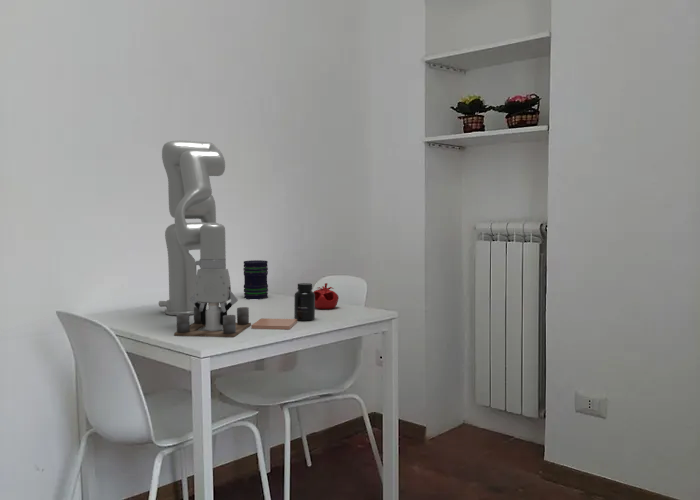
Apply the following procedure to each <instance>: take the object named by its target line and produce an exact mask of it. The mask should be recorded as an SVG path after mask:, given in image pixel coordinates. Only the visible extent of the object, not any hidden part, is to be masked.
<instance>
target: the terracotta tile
mask: <svg viewBox="0 0 700 500" xmlns="http://www.w3.org/2000/svg"><path fill="white" fill-rule="evenodd" d="M297 323H298V321H297V319H295V318H265V317H264V318H263V317H262V318H260V319H258V320H256V321H255V322H254V323H252V324H251V326H250V327H251V330H252V329H253V330H254V329H255V330H256V329H258V330H262V329H263V330H291V329H292V328H293V327H294V326H295V325H296V324H297Z"/></svg>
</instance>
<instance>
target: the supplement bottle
mask: <svg viewBox="0 0 700 500" xmlns="http://www.w3.org/2000/svg"><path fill="white" fill-rule="evenodd" d="M312 290H313V283H310V282H300V283H299V282H298V283H297V291H295V293H294V303H293V304H294V313H293V317H294V318H293V319H297V322H298V321H299V322H310V321H314V320H315V316H316V315H315V314H316V311H315V310H316V308H315V294H314V291H312Z"/></svg>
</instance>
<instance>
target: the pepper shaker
mask: <svg viewBox="0 0 700 500" xmlns="http://www.w3.org/2000/svg"><path fill="white" fill-rule="evenodd" d="M207 305H208V309H206V311H205V326H206V327H205V331H223V325H221V324H220V313H221V312H222V310H220V309H219V307H220V303H207Z"/></svg>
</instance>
